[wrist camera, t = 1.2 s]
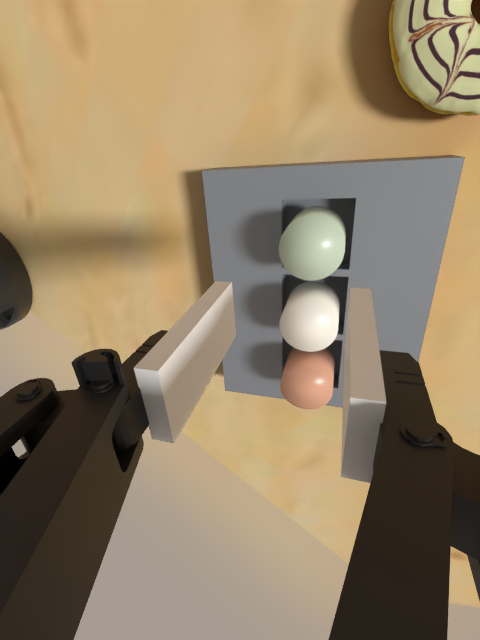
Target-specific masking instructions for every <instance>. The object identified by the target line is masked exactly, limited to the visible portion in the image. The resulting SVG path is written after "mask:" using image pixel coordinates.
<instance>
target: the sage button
mask: <svg viewBox="0 0 480 640" xmlns="http://www.w3.org/2000/svg"><path fill="white" fill-rule="evenodd" d="M345 238H346V230H345V225H344V223H343V220H342V219H341V217H340V216H339V215H338V214H337V213H336V212H335V211H333V210H332V209H330V208H327V207H323V206H313V207H309V208H306V209H304V210H302V211H301V212H299V213H298V214H297V215H296V216H295V217H294V218H293V220H292V221H291V223H290V224H289V225H288V227H287V228H286V230H285V231H284V233H283V234H282V236H281V239H280V243H279V256H280V259H281V262H282V264H283V266H284V267H285V268H286V269H287V271H288V272H290V273H291V274H292V275H294V276H295V277H297V278H300V279H303V280H309V281H312V280H320V279H323V278H325V277H327V276H329V275H331V274H332V273H333V272H334V271H335V270H336V269H337V268H338V267H339V266H340V264H341V262H342V260H343V257H344V253H345Z"/></svg>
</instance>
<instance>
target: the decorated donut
mask: <svg viewBox="0 0 480 640" xmlns="http://www.w3.org/2000/svg"><path fill="white" fill-rule="evenodd" d="M471 3H472V0H393V3H392V6H391V11H390V15H389V40H390V46H391V58H392V61H393V63H394V69H395V71H396V76H397V79H398V81H399V82H400V84H401V85H402V87H403V89H404V90H405V92H406V93H407V94H408V95H409V96H410V97H412V98H413V99H415V100H417V101H419V102H421V104H422V105H423V106H424V107H425V108H426V109H429V110H431V111H433V112H436V113H439V114H444V115H445V114H462V115H467V116H470V115H480V24H478V23H477V22H476V20H475V19H474V17H473V15H472V12H471Z"/></svg>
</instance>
